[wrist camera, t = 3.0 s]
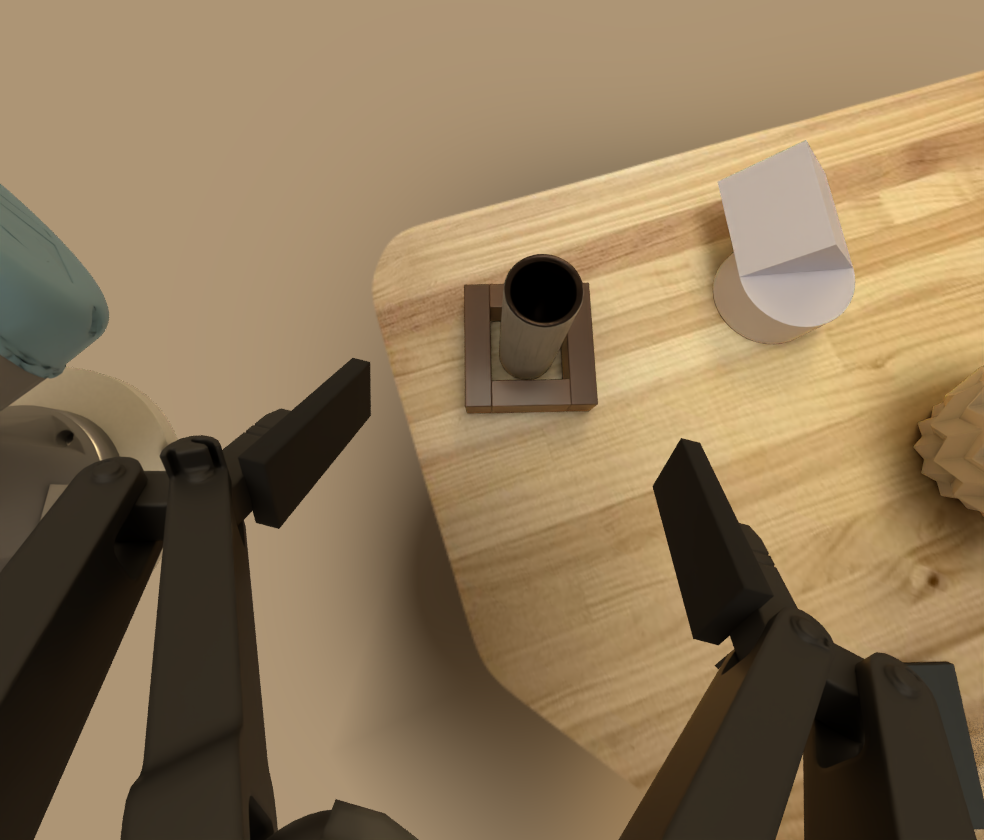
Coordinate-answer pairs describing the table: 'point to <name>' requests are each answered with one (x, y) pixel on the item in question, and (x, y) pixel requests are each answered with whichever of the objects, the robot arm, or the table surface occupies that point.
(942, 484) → the vase
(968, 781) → the mat
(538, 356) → the beige hollow cylinder
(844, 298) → the wedge on round base
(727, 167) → the table surface
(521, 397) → the brown square frame
